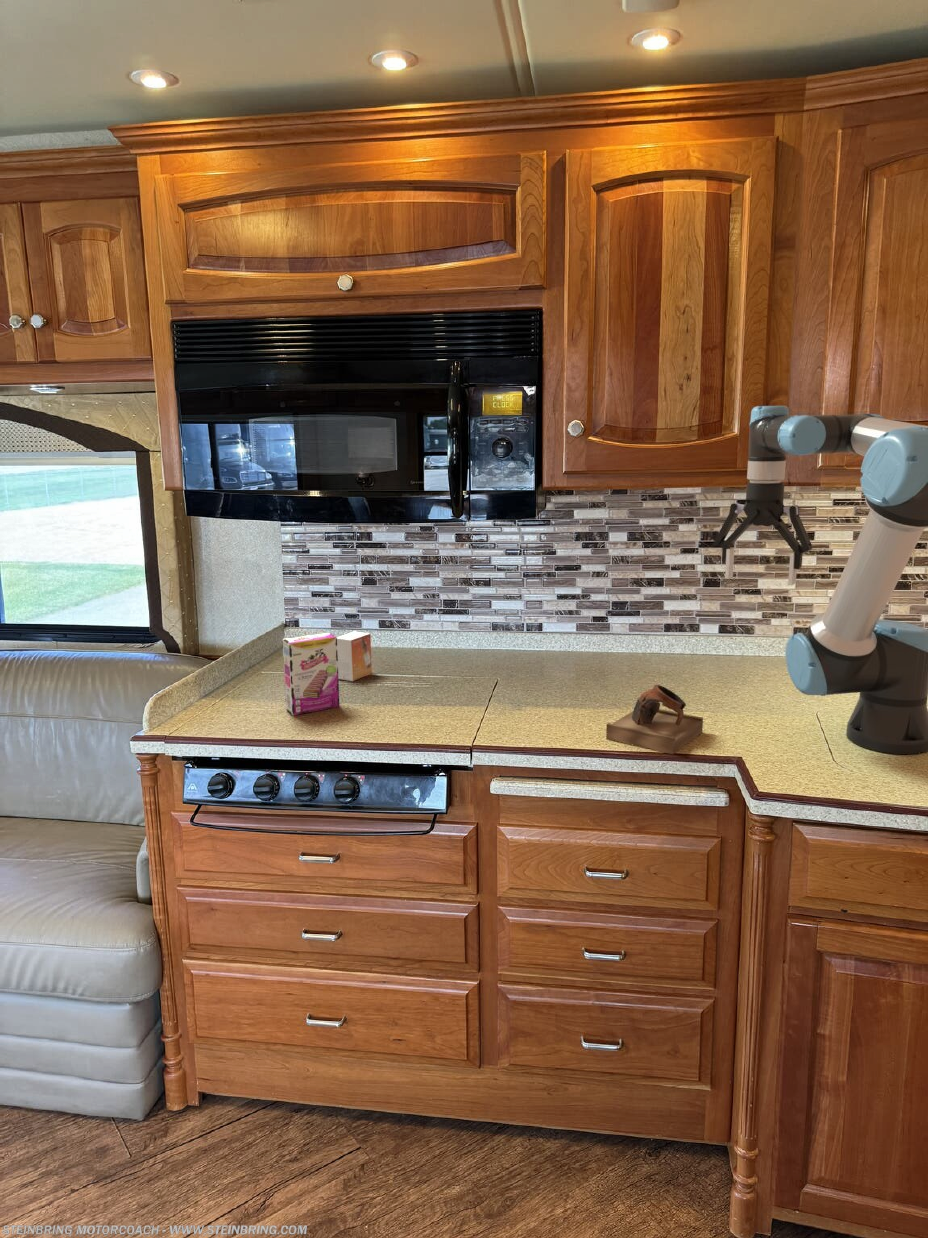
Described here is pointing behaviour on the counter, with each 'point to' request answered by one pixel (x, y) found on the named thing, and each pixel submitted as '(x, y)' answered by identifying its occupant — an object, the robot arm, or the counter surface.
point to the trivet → (656, 731)
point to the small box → (354, 655)
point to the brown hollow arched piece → (657, 704)
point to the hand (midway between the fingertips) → (759, 581)
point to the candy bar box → (311, 673)
